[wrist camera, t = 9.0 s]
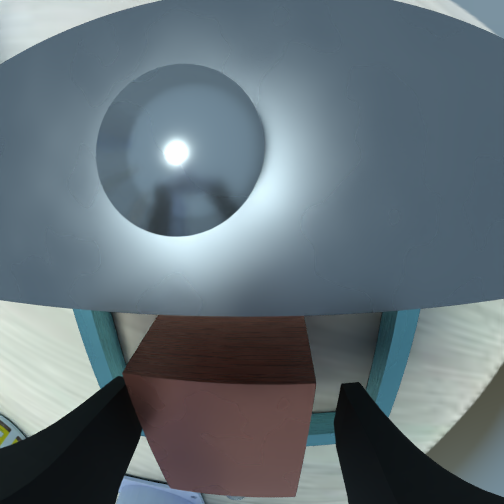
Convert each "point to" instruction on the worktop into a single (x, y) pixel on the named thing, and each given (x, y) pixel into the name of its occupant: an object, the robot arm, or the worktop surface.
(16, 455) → the robot arm
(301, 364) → the brown wooden block
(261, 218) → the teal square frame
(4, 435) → the supplement bottle
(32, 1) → the worktop surface
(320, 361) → the worktop surface
